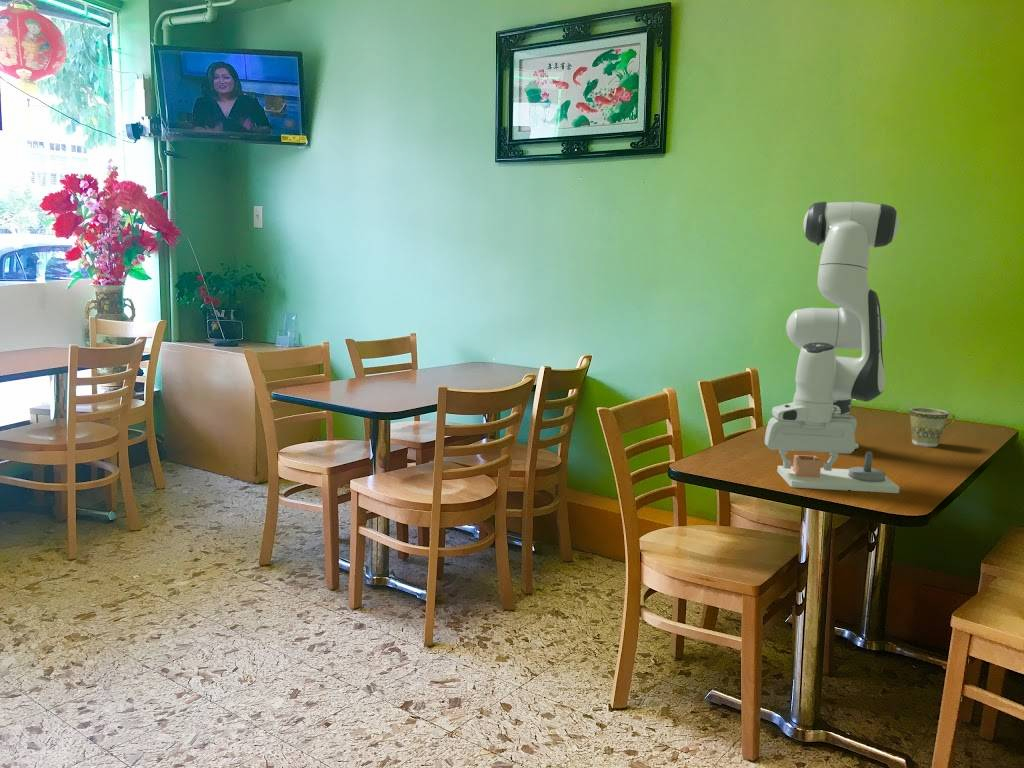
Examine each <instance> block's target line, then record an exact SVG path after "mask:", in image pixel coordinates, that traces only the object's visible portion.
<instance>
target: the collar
mask: <svg viewBox="0 0 1024 768" xmlns="http://www.w3.org/2000/svg"><path fill="white" fill-rule="evenodd" d="M792 466H793V472H794V473H795V474H796V475H797V476H800V477H818V478H820V470H821V468H822V460H821V459H820V458H819V457H817V456H816V455H807V454H806V455H803V454H793V464H792Z"/></svg>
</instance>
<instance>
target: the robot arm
mask: <svg viewBox="0 0 1024 768" xmlns="http://www.w3.org/2000/svg"><path fill="white" fill-rule="evenodd" d="M899 223H900V220H899V216H898V211H897V209H896V208H895V207H894V206H892V205H888V204H886V203H880V204H877V203H872V202H865V201H838V202H837V201H834V202H833V201H832V202H827V201H819V202H814V203H812V204H811V205H810V206H809V208H808V210H807V212H806V213H805V214H804V218H803V223H802V227H803V231H804V234H805V235H804V236H805V238H806V239H807V241H808V242H810V243H813V244H815V245H816V246H821V244H823V247H822V251H821V253H820V257H819V265H818V270H817V288H818V291H819V293H820V294H821V295H822V296H823V298H824V299H826V300H827V301H828V302H830V303H832V304H833V305H834V306H837V308H831V307H829V308H828V307H825V308H824V307H806V308H798V309H795V310H793V312H791V314H789V316H788V318H787V320H786V324H785V331H786V335H787V337H788V339H789V340H790V341H791V342H790V343H793V345H795V346H796V347H797V348H798V349H799V355H798V359H797V364H796V370H795V377H794V379H795V380H794V382H795V387H796V388H795V392H794V395H793V398H792V402H789V403H784V404H780V405H777V406H773V407H772V409H771V414H772V416H773V417H771V418H770V419H769V420H768V422H767V425H766V429H765V433H764V434H765V435H764V445H765V446H766V447H767V448H768V449H769V450H773V451H775V450H776V451H778V452H779V455H780V457H781V459H782V466H783V468H785V469H791V466H792V461H791V460H790V459H787V455H788V451H791V452H792V451H793V452H795V451H797V452H816V453H828V454H829V456H830V457H829V458H828V460H827V461H823V467H822V468H823V469H824V470H825V471H831V470H832V467H833V464H834V463H835V462H836V461H837V460H838V458H839V454H852V453H853V452H854V451H855V449H859V444H858V443H857V442H856V435H855V432H856V430H857V425H858V421H857V418H856V417H855V416H853V415H852V414H851V413H850V412H851V407H852V400H855V401H856V400H857V401H861V402H866V403H868V402H870V401H872V400H874V399H876V398H877V397H879V396H880V395H881V394H882V393H883V391H884V388H885V384H886V373H885V368H884V367H885V366H884V359H883V340H884V339H885V337H886V334H887V324H886V322H885V321H886V320H885V319H884V317H883V316H882V314H881V304H880V299H879V295H878V293H877V292H876V291H875V290H873V289H872V288H871V286H870V284H869V280H868V272H869V271H868V270H869V263H870V261H869V260H870V247H874V248H881V247H885V246H888V245H889V244H891V243H892V242H893V240H894V239H895V237H896V235H897V233H898V231H899V225H900V224H899ZM836 349H841V350H843V349H845V350H861V356H860V357H851V356H841V355H837V351H836Z"/></svg>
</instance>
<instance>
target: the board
mask: <svg viewBox="0 0 1024 768" xmlns="http://www.w3.org/2000/svg"><path fill="white" fill-rule="evenodd" d="M873 455H874V454H873V452H872V451H866V452H865V455H864V463H863V465H864V466H852V467H849V468H848V469H847V468H832V470H831V471H825V470H824V469H823V467H821V470H820V478H818V477H800V476H797V475H796V474H795V473H794V472H793V465H790V466H791V469H785V468H783V465H777V469H776V470H777V471H776V472H777V473H778V474H779V475H780V477H782V478H783V480H784V481H785V482H786V483H787V485H789V487H790V488H795V489H797V488H798V489H800V488H801V489H813V490H814V489H816V490H833V491H834V490H835V491H848V490H851V492H852V491H853V492H867V493H868V491H869V493H874V492H875V493H885V494H889V493H890V494H900V489H901V488H900V487H901V486H899V485H898V484H896V483H895V482H894V481H893V480H891V479H889V477H887V475H886V472H885V471H883V470H881V469H878V468H873V467H872V466H873V465H872V464H873Z"/></svg>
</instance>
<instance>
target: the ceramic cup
mask: <svg viewBox="0 0 1024 768" xmlns="http://www.w3.org/2000/svg"><path fill="white" fill-rule="evenodd" d="M950 416H952V420H951V421H950V422H948V423H947V424H946V421H947V419H948V417H950ZM955 420H956V415H954V414H953V413H951V412H948V411H945V410H942V409H937V408H932V407H931V408H930V407H912V408H911V407H910V408H909V421H910V433H911V434H910V435H911V443H912V444H913V445H915V446H920V447H927V448H935V447H938V445H939V443H940V440H941V437H942V433H943V431H944V430H945V429H946V428H947V427H948V426H950V425H952V424H953V423H954V422H955Z"/></svg>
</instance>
